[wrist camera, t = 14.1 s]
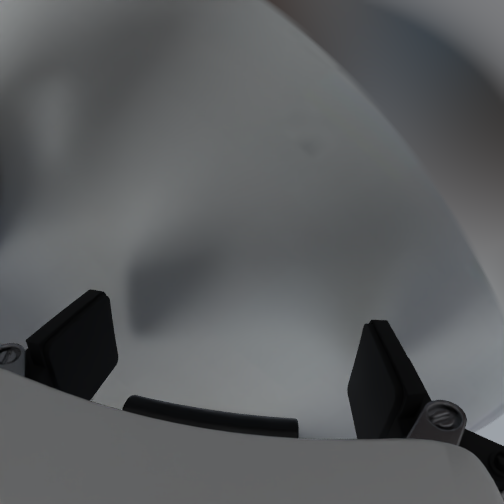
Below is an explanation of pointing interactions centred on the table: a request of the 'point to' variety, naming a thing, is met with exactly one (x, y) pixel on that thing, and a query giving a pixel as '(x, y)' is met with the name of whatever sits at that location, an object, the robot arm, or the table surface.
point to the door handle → (212, 418)
